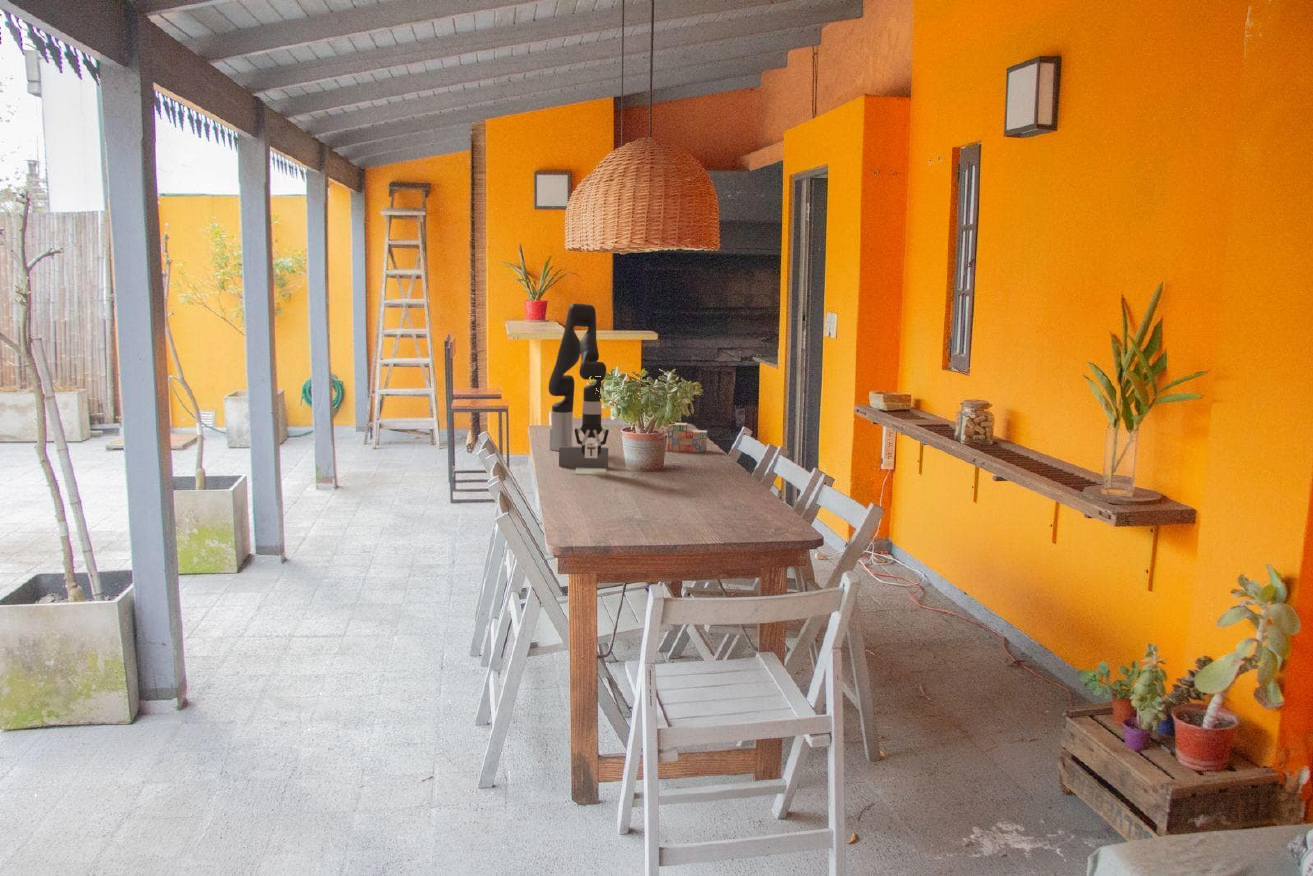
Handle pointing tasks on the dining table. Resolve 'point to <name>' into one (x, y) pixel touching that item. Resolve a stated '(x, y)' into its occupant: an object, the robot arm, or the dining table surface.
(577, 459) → the charcoal wall
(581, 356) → the robot arm
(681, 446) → the stack of blocks
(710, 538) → the dining table surface
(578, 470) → the sage pad
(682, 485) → the dining table surface
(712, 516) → the dining table surface
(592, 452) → the marked cube
